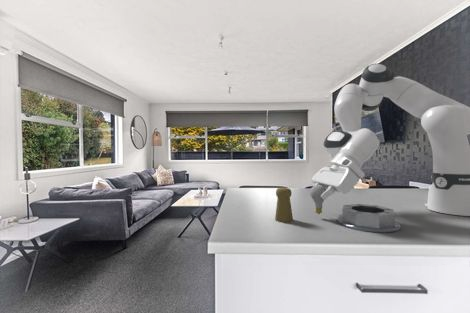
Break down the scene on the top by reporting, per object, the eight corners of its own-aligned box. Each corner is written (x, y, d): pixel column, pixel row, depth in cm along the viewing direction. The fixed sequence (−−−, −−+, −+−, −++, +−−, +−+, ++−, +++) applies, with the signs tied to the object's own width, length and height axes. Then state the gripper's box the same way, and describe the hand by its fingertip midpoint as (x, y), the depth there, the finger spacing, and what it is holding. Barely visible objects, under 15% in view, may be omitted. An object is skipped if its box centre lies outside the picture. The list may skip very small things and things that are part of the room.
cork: (293, 222, 76) (293, 189, 76) (275, 222, 77) (274, 189, 76) (292, 217, 82) (291, 186, 81) (274, 217, 83) (274, 186, 82)
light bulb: (328, 216, 77) (328, 185, 77) (311, 215, 78) (311, 185, 78) (325, 211, 82) (325, 183, 82) (309, 211, 83) (309, 183, 83)
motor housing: (367, 214, 84) (367, 201, 84) (414, 229, 68) (414, 213, 68) (327, 218, 80) (327, 205, 80) (367, 235, 63) (367, 218, 63)
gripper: (322, 160, 91) (298, 186, 90) (355, 161, 71) (325, 195, 70) (333, 171, 92) (309, 197, 91) (368, 175, 71) (339, 209, 70)
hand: (316, 196), depth 80 cm, fingers closed on light bulb, 5 cm apart
